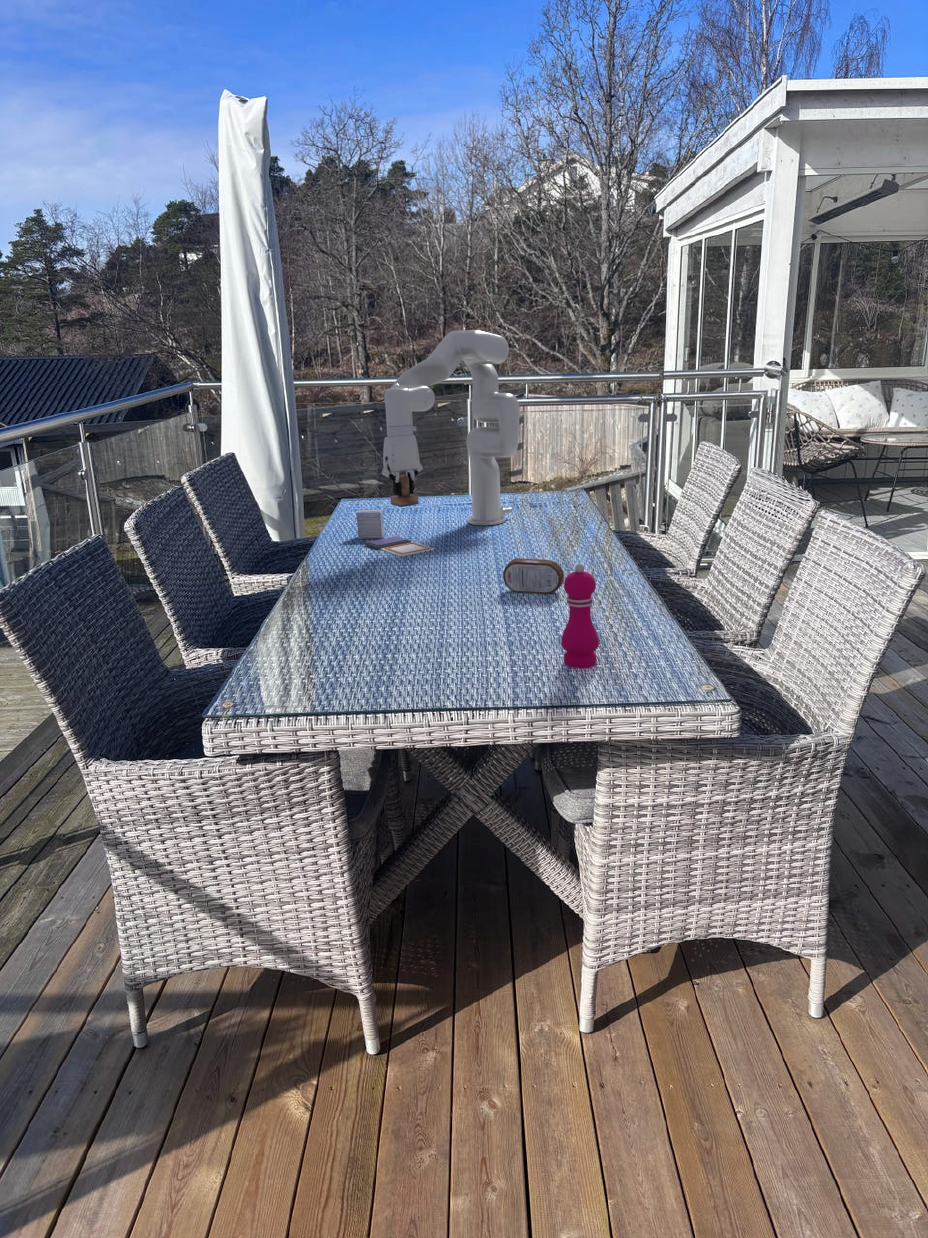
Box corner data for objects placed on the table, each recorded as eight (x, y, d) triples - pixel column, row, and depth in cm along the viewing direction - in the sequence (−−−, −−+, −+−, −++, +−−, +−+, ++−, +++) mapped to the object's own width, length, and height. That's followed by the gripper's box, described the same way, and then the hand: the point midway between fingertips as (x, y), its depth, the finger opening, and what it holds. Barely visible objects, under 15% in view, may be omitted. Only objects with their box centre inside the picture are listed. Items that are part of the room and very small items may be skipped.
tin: (564, 592, 220) (564, 559, 217) (561, 596, 217) (561, 562, 214) (505, 589, 225) (504, 556, 222) (502, 592, 222) (501, 560, 219)
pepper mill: (558, 657, 177) (557, 560, 171) (594, 655, 177) (594, 557, 171) (565, 671, 170) (564, 569, 164) (602, 668, 171) (603, 567, 164)
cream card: (414, 542, 277) (414, 541, 277) (435, 549, 268) (435, 547, 267) (380, 549, 271) (380, 547, 271) (400, 556, 261) (400, 554, 261)
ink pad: (398, 539, 283) (398, 535, 283) (411, 543, 277) (410, 539, 277) (364, 545, 277) (364, 541, 277) (377, 549, 271) (376, 545, 270)
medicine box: (385, 535, 289) (383, 509, 286) (382, 538, 285) (380, 512, 282) (361, 536, 290) (358, 509, 287) (358, 539, 286) (356, 512, 283)
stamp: (408, 501, 269) (406, 475, 266) (418, 504, 264) (417, 477, 261) (390, 504, 266) (389, 477, 263) (401, 507, 261) (399, 479, 258)
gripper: (417, 428, 265) (421, 489, 271) (368, 433, 257) (373, 496, 263) (431, 429, 260) (434, 492, 265) (381, 435, 251) (385, 499, 257)
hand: (404, 493), depth 264 cm, fingers closed on stamp, 3 cm apart
